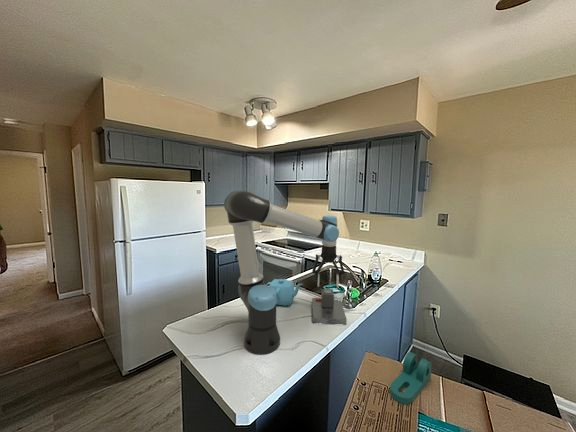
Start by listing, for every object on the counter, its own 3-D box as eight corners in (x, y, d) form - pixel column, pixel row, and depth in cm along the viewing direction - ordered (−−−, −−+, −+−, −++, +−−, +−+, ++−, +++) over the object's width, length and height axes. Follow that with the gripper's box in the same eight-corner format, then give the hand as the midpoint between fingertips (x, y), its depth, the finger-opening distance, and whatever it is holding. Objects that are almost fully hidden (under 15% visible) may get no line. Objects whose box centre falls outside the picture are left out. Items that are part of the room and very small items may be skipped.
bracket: (410, 368, 92) (412, 348, 91) (430, 379, 86) (432, 358, 85) (386, 394, 80) (387, 372, 79) (407, 408, 75) (408, 385, 74)
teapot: (273, 311, 132) (273, 287, 131) (262, 298, 147) (262, 277, 145) (303, 305, 140) (303, 282, 138) (290, 293, 155) (290, 272, 153)
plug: (333, 313, 130) (334, 294, 129) (321, 312, 131) (322, 293, 130) (332, 306, 137) (332, 288, 136) (321, 306, 138) (321, 288, 137)
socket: (346, 325, 120) (346, 317, 119) (313, 323, 121) (313, 316, 120) (340, 303, 142) (340, 297, 141) (311, 302, 143) (312, 296, 142)
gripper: (349, 243, 133) (347, 284, 136) (307, 242, 135) (307, 282, 137) (351, 247, 126) (349, 289, 128) (308, 246, 127) (307, 288, 130)
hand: (327, 286), depth 133 cm, fingers open, 9 cm apart
